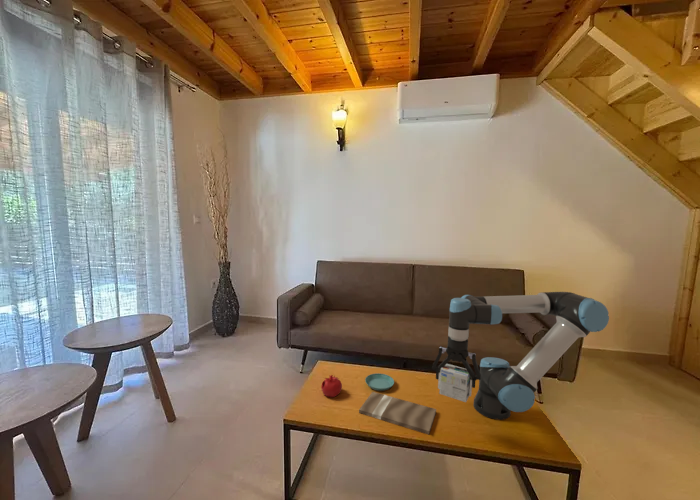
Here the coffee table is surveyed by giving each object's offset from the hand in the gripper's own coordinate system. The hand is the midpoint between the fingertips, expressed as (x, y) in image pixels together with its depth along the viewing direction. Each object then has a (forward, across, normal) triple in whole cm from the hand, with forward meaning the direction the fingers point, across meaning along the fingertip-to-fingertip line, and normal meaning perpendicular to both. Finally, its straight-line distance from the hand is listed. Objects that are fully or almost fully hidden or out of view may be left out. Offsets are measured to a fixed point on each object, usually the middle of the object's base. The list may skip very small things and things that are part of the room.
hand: (454, 390), depth 123 cm
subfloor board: (+16, +23, -1) cm, 28 cm away
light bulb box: (+2, 0, 0) cm, 2 cm away
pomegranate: (+17, +56, -1) cm, 58 cm away
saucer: (+17, +37, -19) cm, 45 cm away
